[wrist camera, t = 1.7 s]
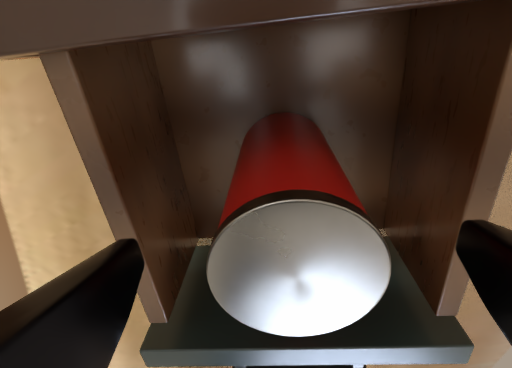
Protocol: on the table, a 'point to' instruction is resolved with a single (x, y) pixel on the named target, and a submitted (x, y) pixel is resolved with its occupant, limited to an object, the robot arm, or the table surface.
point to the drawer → (341, 143)
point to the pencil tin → (295, 236)
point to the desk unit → (161, 19)
